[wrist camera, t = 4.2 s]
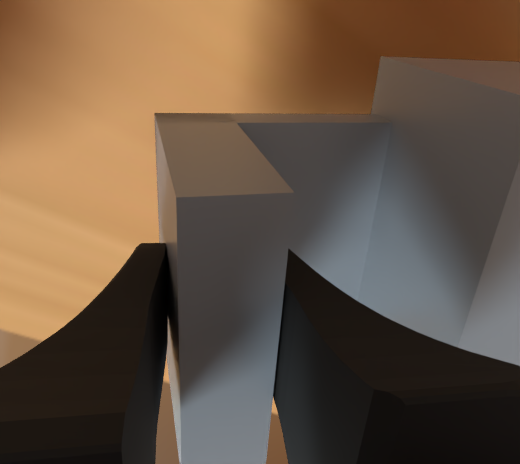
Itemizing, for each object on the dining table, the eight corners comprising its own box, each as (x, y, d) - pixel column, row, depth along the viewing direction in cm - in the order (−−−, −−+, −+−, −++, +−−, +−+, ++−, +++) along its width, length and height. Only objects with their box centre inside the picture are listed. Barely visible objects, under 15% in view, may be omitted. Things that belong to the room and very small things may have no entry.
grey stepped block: (163, 355, 16) (182, 522, 11) (151, 47, 12) (174, 95, 7) (544, 306, 21) (683, 412, 16) (645, 66, 16) (889, 104, 11)
